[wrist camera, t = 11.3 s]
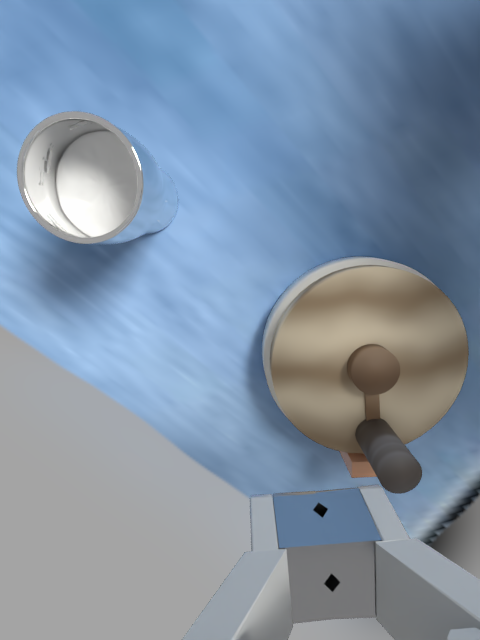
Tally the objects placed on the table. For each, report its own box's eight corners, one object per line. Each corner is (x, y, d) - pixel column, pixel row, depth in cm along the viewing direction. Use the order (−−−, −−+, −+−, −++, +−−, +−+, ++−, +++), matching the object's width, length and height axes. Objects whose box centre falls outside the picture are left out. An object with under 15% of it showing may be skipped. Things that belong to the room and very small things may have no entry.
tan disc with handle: (259, 277, 33) (267, 293, 26) (456, 253, 33) (524, 261, 25) (279, 451, 37) (290, 510, 30) (454, 430, 37) (512, 484, 29)
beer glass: (107, 237, 35) (18, 245, 21) (103, 155, 34) (5, 102, 19) (183, 240, 36) (148, 250, 21) (183, 159, 34) (146, 109, 19)
